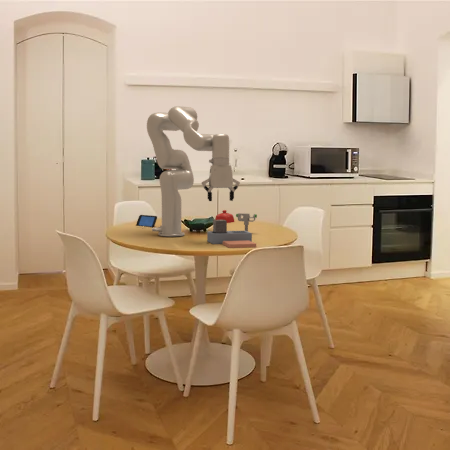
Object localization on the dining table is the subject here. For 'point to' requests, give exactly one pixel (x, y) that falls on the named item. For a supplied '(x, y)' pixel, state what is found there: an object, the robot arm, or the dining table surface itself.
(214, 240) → the blue-grey tray
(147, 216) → the tablet display
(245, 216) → the mechanical component
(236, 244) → the terracotta mat
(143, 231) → the dining table surface
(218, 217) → the butter dish
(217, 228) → the block
